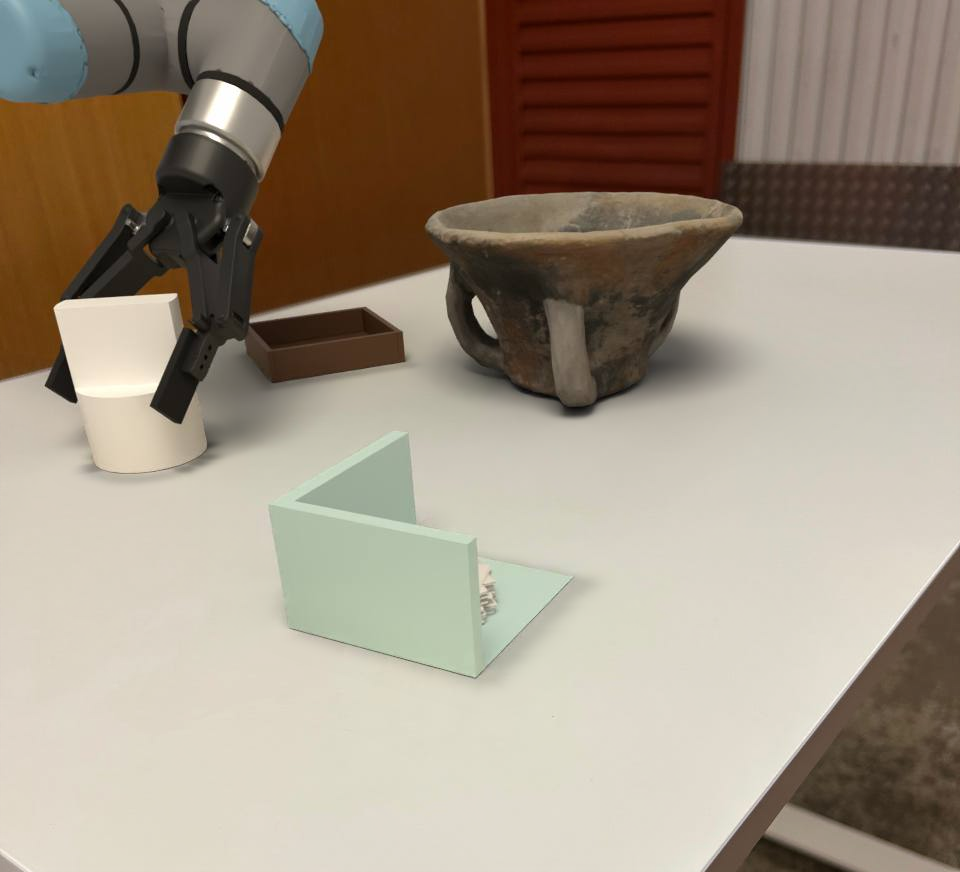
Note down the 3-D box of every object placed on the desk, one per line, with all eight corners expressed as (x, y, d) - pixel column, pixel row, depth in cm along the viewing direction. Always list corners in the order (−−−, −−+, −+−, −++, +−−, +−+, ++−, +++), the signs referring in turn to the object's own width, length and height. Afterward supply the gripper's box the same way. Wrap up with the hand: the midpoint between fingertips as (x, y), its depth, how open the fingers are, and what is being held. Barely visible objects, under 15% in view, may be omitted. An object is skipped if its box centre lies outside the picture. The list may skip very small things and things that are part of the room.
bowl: (635, 327, 107) (640, 175, 100) (789, 391, 86) (811, 206, 79) (400, 365, 99) (386, 203, 91) (508, 446, 78) (501, 245, 70)
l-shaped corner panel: (475, 677, 50) (467, 544, 46) (289, 627, 56) (267, 504, 52) (573, 576, 59) (573, 457, 55) (404, 541, 64) (393, 430, 60)
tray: (272, 382, 96) (267, 351, 95) (246, 352, 106) (241, 323, 105) (405, 361, 100) (402, 331, 99) (368, 333, 110) (365, 306, 109)
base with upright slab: (215, 430, 85) (187, 284, 79) (196, 468, 77) (163, 311, 71) (109, 437, 85) (73, 291, 78) (80, 476, 77) (37, 319, 71)
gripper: (357, 196, 77) (254, 449, 74) (148, 188, 88) (50, 407, 85) (303, 126, 71) (187, 400, 68) (84, 127, 82) (-24, 362, 79)
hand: (110, 405), depth 77 cm, fingers open, 11 cm apart
